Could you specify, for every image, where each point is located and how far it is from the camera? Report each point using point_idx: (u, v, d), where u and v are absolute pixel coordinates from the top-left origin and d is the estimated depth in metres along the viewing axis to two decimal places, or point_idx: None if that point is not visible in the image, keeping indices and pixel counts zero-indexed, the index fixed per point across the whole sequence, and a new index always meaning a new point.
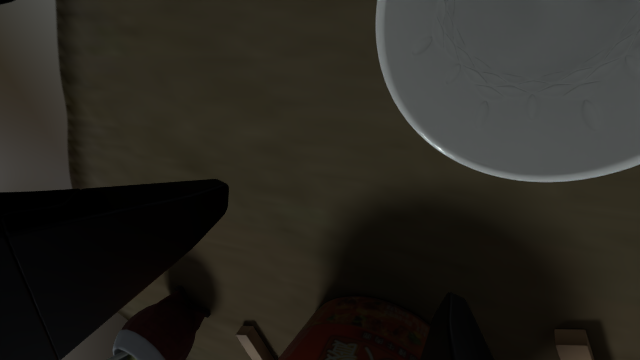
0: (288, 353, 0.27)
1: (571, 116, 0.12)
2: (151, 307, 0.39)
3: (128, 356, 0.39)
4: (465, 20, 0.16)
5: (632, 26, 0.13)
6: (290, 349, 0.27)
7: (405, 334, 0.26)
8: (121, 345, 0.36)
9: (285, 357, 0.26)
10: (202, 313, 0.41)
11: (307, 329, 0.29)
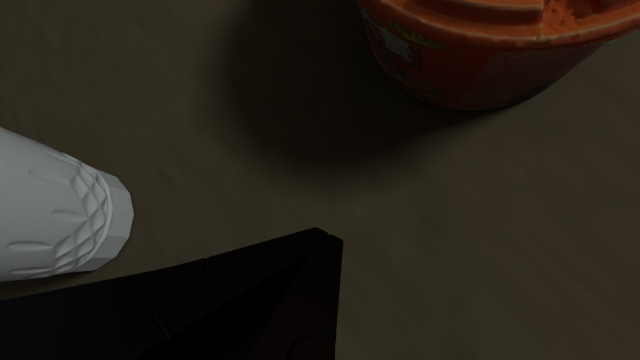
0: (492, 72, 0.17)
1: None
2: None
3: None
4: None
5: None
6: (494, 76, 0.17)
7: (367, 35, 0.22)
8: None
9: (494, 69, 0.16)
10: None
11: (477, 91, 0.19)
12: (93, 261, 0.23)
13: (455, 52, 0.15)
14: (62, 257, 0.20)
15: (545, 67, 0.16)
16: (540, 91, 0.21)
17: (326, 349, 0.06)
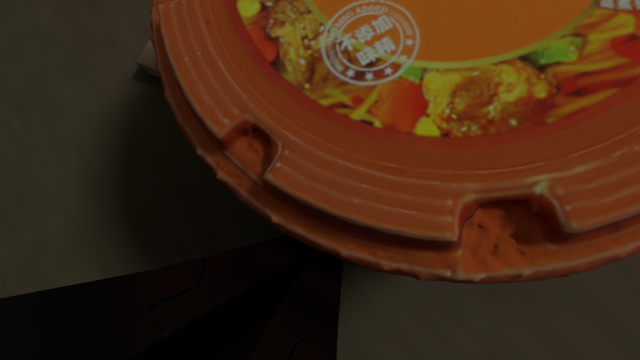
0: None
1: None
2: None
3: None
4: None
5: None
6: None
7: None
8: None
9: None
10: None
11: None
12: None
13: None
14: None
15: None
16: None
17: (328, 350, 0.06)
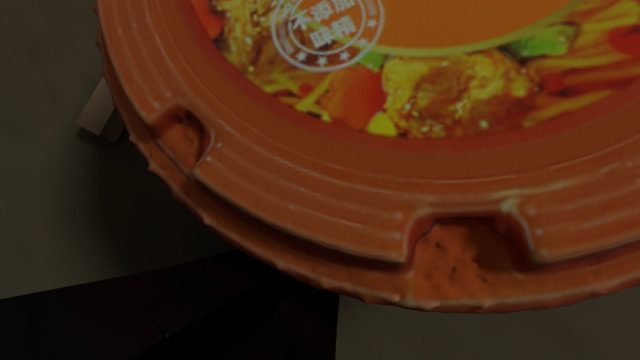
0: None
1: None
2: None
3: None
4: None
5: None
6: None
7: None
8: None
9: None
10: None
11: None
12: None
13: None
14: None
15: None
16: None
17: (326, 349, 0.06)
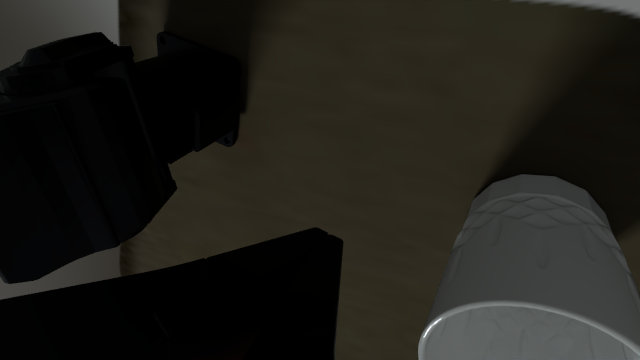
0: None
1: None
2: None
3: None
4: None
5: None
6: None
7: None
8: None
9: None
10: None
11: None
12: None
13: None
14: None
15: None
16: None
17: (326, 349, 0.06)
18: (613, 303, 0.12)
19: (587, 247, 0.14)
